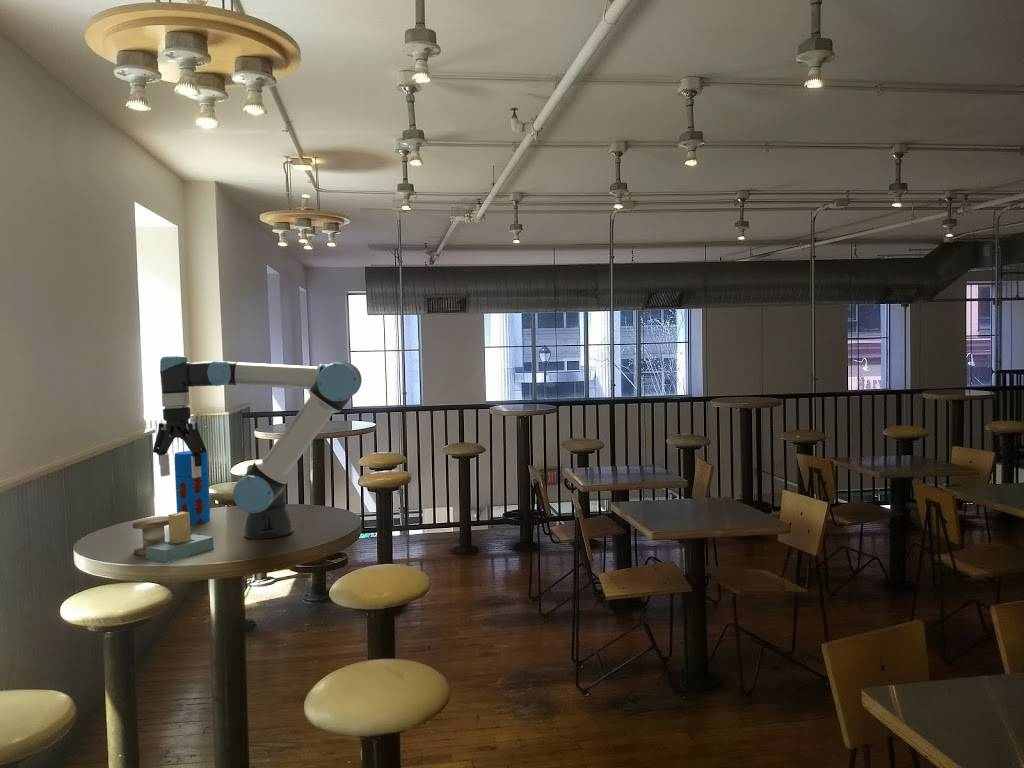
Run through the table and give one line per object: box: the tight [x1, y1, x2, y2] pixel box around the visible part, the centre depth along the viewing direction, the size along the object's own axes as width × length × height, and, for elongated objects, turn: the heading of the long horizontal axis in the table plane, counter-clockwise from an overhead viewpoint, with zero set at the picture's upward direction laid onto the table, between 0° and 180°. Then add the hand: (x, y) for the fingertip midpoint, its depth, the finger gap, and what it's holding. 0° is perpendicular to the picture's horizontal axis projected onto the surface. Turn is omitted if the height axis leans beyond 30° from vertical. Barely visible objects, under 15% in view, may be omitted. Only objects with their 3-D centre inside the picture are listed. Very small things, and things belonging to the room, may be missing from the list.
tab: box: [167, 512, 192, 546], centre depth 208 cm, size 4×4×12 cm
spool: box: [131, 515, 169, 557], centre depth 213 cm, size 11×11×9 cm
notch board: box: [145, 533, 215, 563], centre depth 209 cm, size 16×9×4 cm, turn 151°
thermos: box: [174, 450, 211, 526], centre depth 251 cm, size 11×11×25 cm
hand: (180, 476), depth 214 cm, fingers open, 13 cm apart
